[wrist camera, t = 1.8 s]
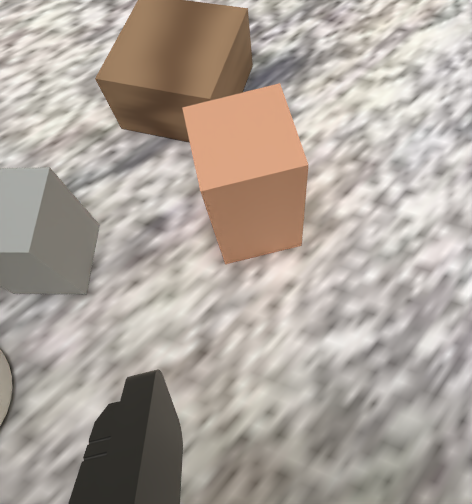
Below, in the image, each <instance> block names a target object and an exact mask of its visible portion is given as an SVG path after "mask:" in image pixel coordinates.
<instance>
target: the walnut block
mask: <svg viewBox="0 0 472 504" xmlns="http://www.w3.org/2000/svg"><path fill="white" fill-rule="evenodd" d="M252 66H253V64H252V53H251V41H250V29H249V18H248V8H240V7H233V6H225V5H217V4H209V3H202V2H194V1H186V0H138V1H137V3H136V5H135V7H134V9H133V10H132V12H131V14H130V16H129V18H128V20H127V21H126V23H125V25H124V27H123V29H122V31H121V32H120V34H119V36H118V38H117V40H116V42H115V43H114V45H113V47H112V49H111V51H110V53H109V54H108V56H107V58H106V60H105V62H104V64H103V65H102V67H101V69H100V71H99V73H98V74H97V76H96V78H95V79H96V81H97V83H98V85H99V87H100V89H101V91H102V93H103V94H104V96H105V98H106V100H107V102H108V104H109V106H110V108H111V110H112V112H113V113H114V115H115V117H116V119H117V121H118V123H119V125H120V127H121V128H122V129H127V130H132V131H137V132H142V133H147V134H152V135H157V136H162V137H167V138H172V139H176V140H181V141H186V142H190V141H189V136H188V132H187V127H186V123H185V118H184V113H183V109H182V108H183V107H187V106H191V105H195V104H199V103H203V102H207V101H211V100H215V99H219V98H223V97H227V96H231V95H235V94H239V93H242V92H243V90H244V87H245V84H246V82H247V79H248V77H249V74H250V72H251V69H252Z"/></svg>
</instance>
